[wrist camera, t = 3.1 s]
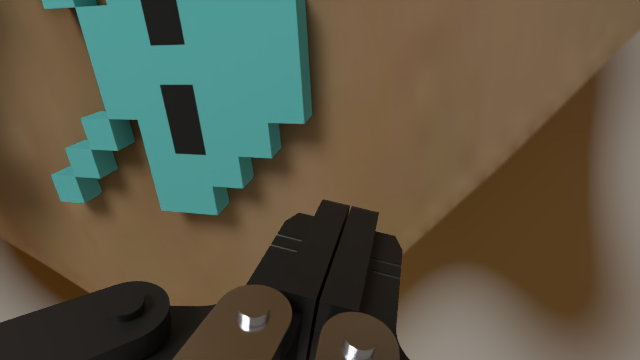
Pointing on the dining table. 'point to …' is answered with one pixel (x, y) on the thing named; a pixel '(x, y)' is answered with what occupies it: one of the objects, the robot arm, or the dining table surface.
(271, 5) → the alien figure
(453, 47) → the dining table surface
